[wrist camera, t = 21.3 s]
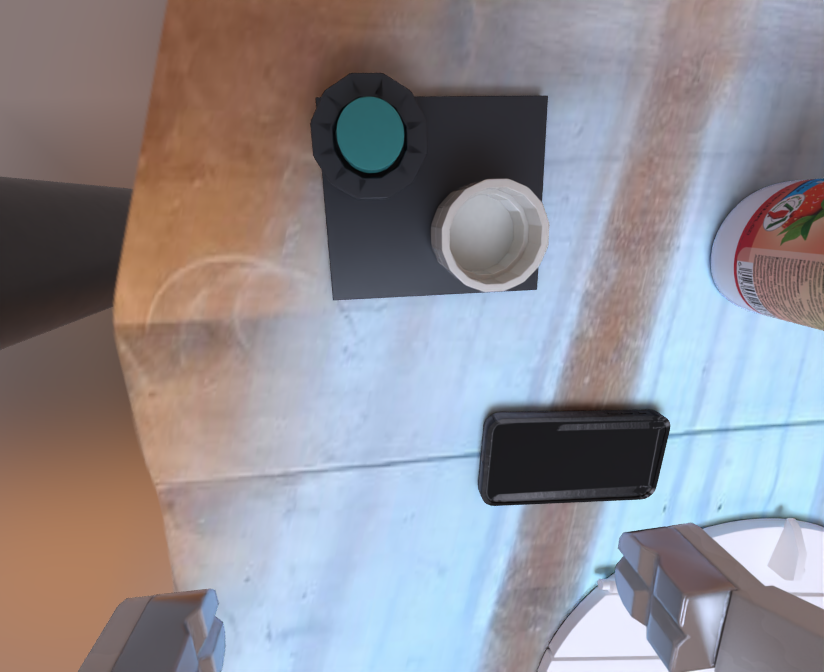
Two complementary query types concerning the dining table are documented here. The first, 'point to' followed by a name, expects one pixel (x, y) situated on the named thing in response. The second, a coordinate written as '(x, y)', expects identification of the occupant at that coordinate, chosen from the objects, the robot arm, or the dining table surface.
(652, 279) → the dining table surface
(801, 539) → the lazy susan
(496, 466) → the phone
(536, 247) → the white plastic cup
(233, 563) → the dining table surface
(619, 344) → the dining table surface
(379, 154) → the button
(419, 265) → the scale
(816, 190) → the fruit juice
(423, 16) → the dining table surface
